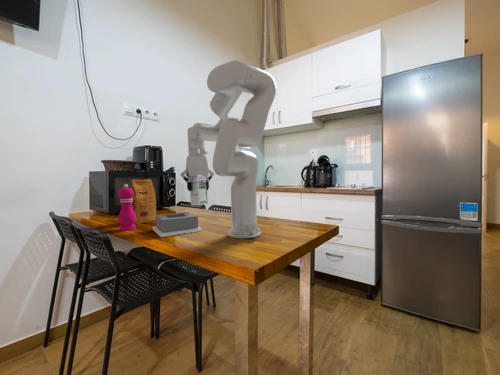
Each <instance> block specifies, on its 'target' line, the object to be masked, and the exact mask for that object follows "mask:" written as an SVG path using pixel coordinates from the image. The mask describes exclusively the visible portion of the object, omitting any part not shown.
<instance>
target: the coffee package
mask: <svg viewBox="0 0 500 375" xmlns="http://www.w3.org/2000/svg"><path fill="white" fill-rule="evenodd" d="M130 180H131V181H130V182H131V184H132V185H131V187H130V188H131V189H132V190H133V191H134V195H133V197H132V199H133V202H132V208H133V211H134V213H135V215H136V219H137V220H136V222H135V223H134V224H135V225H140V224H141V225H142V224H145V223H147V224H148V223H151V222H156V220H155V215H157V200H156V192H155V191H156V190H155V187H154V186H153V185H154V184H153V182H152V179H150V178H149V179H130Z"/></svg>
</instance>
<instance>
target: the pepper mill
mask: <svg viewBox="0 0 500 375" xmlns="http://www.w3.org/2000/svg"><path fill="white" fill-rule="evenodd" d="M117 193H118V194H117V195H118V198H120V202H119V203H121V204H120V205H121V206H120V207H121V209H120V212H119V215H118V218H117V222H118V223H119V231H121V232H126V231H132V230H136V228H137V226H136V225H137V224H134V223H135V222H136V220H137V219H136V215H135V213H134V211H133V208H132V202H133V199H132V197H133V195H134V191H133V190H132V189H131V187H129V185H128V184H127V183H124V184H123V187H122V188H120V189H119V190H118V192H117Z"/></svg>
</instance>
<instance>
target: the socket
mask: <svg viewBox="0 0 500 375" xmlns="http://www.w3.org/2000/svg"><path fill="white" fill-rule="evenodd" d="M155 220H156V221H155V226H152V231H153V232H155V233H156V234H157V235H158V236H159V237H160V238H164V237H170V236H176V235H177V236H178V234H179V235H184V233H185V234H191V232H192V233H199V232H202V227H200V226H199V216H198V215H195V214H194V213H191V212H186V211H185V212H177V213H168V214H167V213H165V214H156V215H155Z"/></svg>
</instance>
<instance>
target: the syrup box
mask: <svg viewBox="0 0 500 375" xmlns="http://www.w3.org/2000/svg"><path fill="white" fill-rule="evenodd" d="M191 183H192V191H189V193H190V197H189V198H190V205H191V206H203V205H204V206H205V205H208V202H209V201H208V190H207V185H206V177H204V176H203V175H198V174H195V177H192V179H191Z"/></svg>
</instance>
